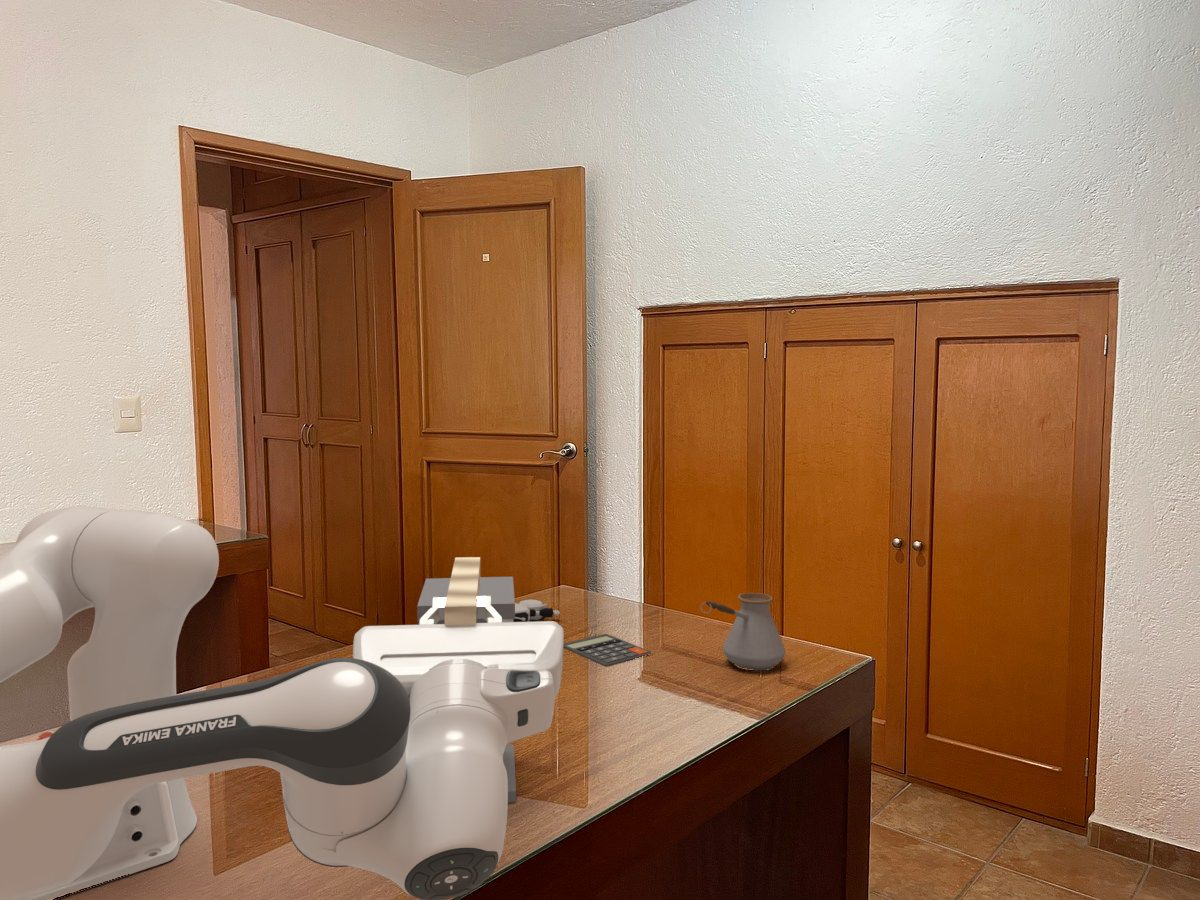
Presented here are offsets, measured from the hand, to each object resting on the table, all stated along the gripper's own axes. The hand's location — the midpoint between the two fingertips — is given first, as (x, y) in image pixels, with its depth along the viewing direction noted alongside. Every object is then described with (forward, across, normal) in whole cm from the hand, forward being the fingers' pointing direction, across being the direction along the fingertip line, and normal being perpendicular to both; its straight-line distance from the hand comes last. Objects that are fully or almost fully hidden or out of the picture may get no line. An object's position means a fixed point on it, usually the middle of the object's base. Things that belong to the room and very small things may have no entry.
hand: (462, 600), depth 92 cm
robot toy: (+69, +8, -76) cm, 103 cm away
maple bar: (+4, 0, -4) cm, 6 cm away
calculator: (+51, +24, -66) cm, 87 cm away
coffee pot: (+39, +47, -59) cm, 85 cm away
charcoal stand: (+6, 0, -40) cm, 40 cm away
